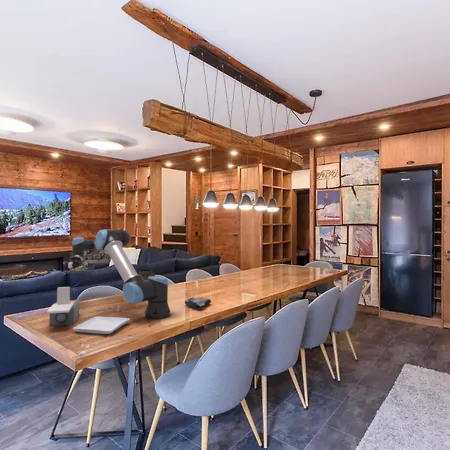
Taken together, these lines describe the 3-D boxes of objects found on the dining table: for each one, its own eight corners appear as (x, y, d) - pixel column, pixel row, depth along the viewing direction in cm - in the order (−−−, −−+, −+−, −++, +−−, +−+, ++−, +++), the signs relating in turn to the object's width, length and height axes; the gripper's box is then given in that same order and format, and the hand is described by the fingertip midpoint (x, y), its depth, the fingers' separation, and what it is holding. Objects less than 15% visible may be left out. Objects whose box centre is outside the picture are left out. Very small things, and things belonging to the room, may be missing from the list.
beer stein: (134, 296, 243) (135, 269, 242) (142, 293, 253) (144, 268, 252) (151, 299, 237) (153, 272, 237) (159, 296, 247) (161, 270, 247)
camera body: (73, 325, 173) (73, 308, 173) (48, 327, 170) (48, 309, 170) (79, 314, 193) (79, 299, 193) (56, 316, 190) (57, 300, 189)
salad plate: (71, 334, 161) (71, 327, 161) (95, 321, 182) (95, 315, 182) (110, 337, 157) (110, 330, 157) (130, 324, 178) (130, 318, 178)
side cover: (68, 312, 165) (68, 292, 165) (46, 313, 162) (46, 293, 162) (73, 304, 180) (74, 286, 180) (54, 305, 177) (54, 287, 177)
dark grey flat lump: (212, 304, 224) (212, 296, 224) (201, 311, 204) (201, 303, 204) (190, 302, 228) (190, 295, 228) (177, 309, 209) (177, 301, 209)
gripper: (86, 266, 220) (81, 271, 197) (65, 267, 216) (57, 272, 193) (86, 255, 220) (81, 259, 197) (65, 256, 216) (57, 259, 193)
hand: (69, 265), depth 195 cm, fingers closed
